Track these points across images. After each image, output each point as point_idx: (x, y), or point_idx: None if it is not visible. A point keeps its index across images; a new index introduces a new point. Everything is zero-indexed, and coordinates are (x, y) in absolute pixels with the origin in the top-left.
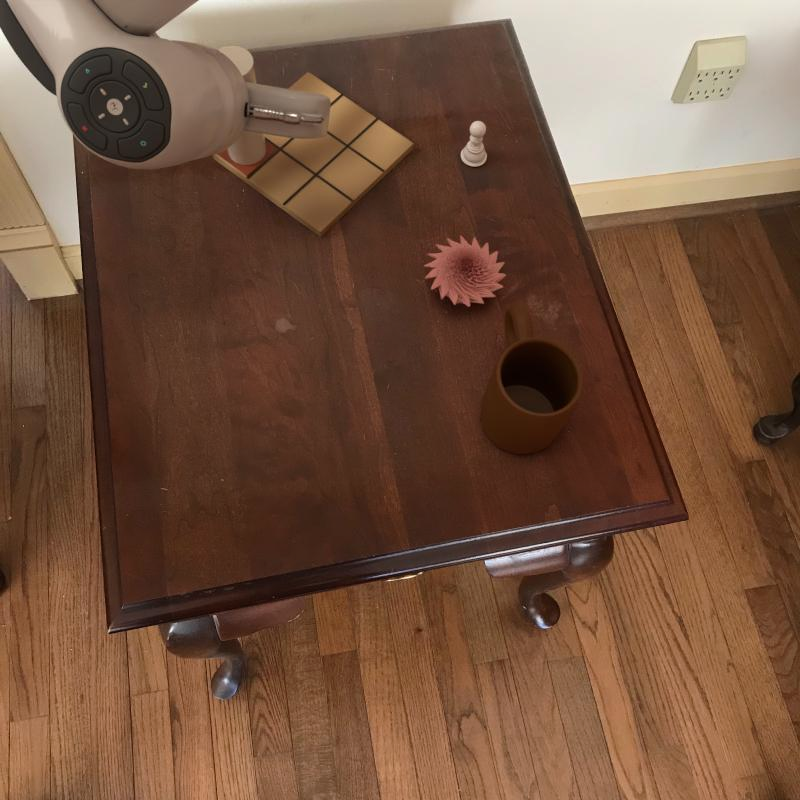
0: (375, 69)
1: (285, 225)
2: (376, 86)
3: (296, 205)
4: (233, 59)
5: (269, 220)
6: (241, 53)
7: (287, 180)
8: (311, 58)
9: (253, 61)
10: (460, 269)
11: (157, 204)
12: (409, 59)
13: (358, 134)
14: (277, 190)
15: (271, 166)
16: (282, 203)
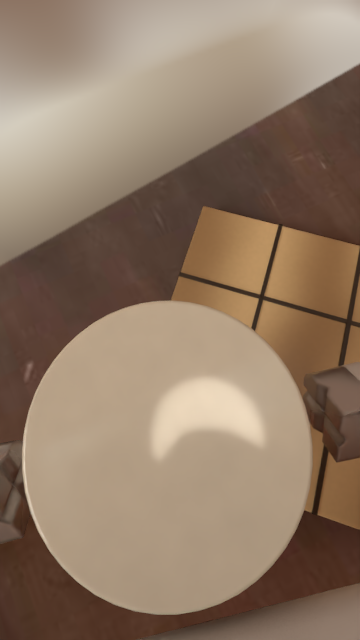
0: (290, 160)
1: (326, 541)
2: (309, 187)
3: (337, 502)
4: (169, 414)
5: (291, 543)
6: (194, 347)
7: None
8: (188, 180)
9: (289, 372)
10: None
11: (63, 605)
12: (327, 126)
13: (352, 290)
14: None
15: None
16: (309, 510)
